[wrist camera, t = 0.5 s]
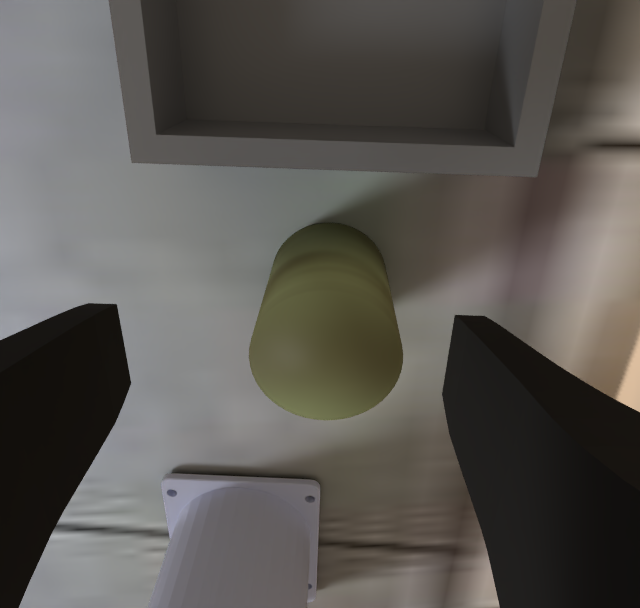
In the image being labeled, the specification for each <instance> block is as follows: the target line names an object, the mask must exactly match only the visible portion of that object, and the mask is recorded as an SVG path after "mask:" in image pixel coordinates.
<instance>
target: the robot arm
mask: <svg viewBox="0 0 640 608" xmlns="http://www.w3.org/2000/svg"><path fill="white" fill-rule="evenodd" d="M130 385H131V380H130V374H129V369H128V363H127V358H126V352H125V347H124V341H123V336H122V331H121V325H120V320H119V314H118V309H117V304H93V303H88V304H85V305H81V306H78V307H75V308H73V309H70V310H68V311H65V312H63V313H60V314H58V315H56V316H54V317H51V318H49V319H47V320H45V321H42V322H40V323H38V324H36V325H33V326H31V327H29V328H27V329H25V330H22V331H20V332H18V333H16V334H14V335H11V336H9V337H7V338H5V339H2V340H0V608H19V605H20V603H21V601H22V598H23V596H24V593H25V591H26V589H27V586H28V584H29V582H30V579H31V577H32V575H33V573H34V571H35V569H36V566H37V564H38V562H39V560H40V558H41V555H42V553H43V551H44V549H45V547H46V544H47V542H48V540H49V538H50V536H51V534H52V532H53V530H54V528H55V526H56V524H57V522H58V520H59V519H60V517H61V515H62V513H63V511H64V509H65V508H66V506H67V504H68V503H69V501H70V499H71V498H72V496H73V494H74V493H75V491H76V489H77V487H78V486H79V484H80V482H81V481H82V479H83V477H84V476H85V474H86V472H87V471H88V469H89V467H90V466H91V464H92V462H93V460H94V459H95V457H96V455H97V454H98V452H99V450H100V449H101V447H102V445H103V443H104V442H105V440H106V438H107V436H108V435H109V433H110V431H111V429H112V428H113V426H114V424H115V422H116V420H117V418H118V415H119V413H120V411H121V408H122V406H123V403H124V401H125V398H126V395H127V393H128V390H129V387H130ZM442 396H443V402H444V407H445V413H446V419H447V424H448V429H449V434H450V437H451V440H452V443H453V446H454V449H455V453H456V456H457V459H458V462H459V465H460V468H461V471H462V474H463V477H464V479H465V482H466V485H467V488H468V491H469V494H470V497H471V500H472V503H473V506H474V509H475V512H476V515H477V518H478V521H479V524H480V527H481V530H482V534H483V537H484V540H485V544H486V547H487V551H488V555H489V560H490V564H491V569H492V573H493V578H494V582H495V587H496V591H497V596H498V600H499V605H500V608H640V412H638V411H636V410H634V409H632V408H630V407H628V406H626V405H624V404H622V403H620V402H618V401H617V400H615V399H613V398H611V397H609V396H607V395H606V394H604V393H602V392H600V391H599V390H597V389H595V388H594V387H592V386H590V385H589V384H587V383H585V382H584V381H582V380H580V379H579V378H577V377H575V376H574V375H572V374H570V373H569V372H567V371H566V370H564V369H563V368H561V367H560V366H558V365H557V364H555V363H554V362H552V361H551V360H549V359H548V358H546V357H545V356H543V355H542V354H540V353H539V352H537V351H536V350H534V349H533V348H531V347H530V346H529V345H527V344H526V343H524V342H523V341H521V340H520V339H519V338H517V337H516V336H514V335H513V334H511V333H510V332H509V331H507V330H506V329H504V328H503V327H501V326H500V325H498V324H497V323H495V322H494V321H492V320H490V319H489V318H487V317H485V316H469V315H455V318H454V324H453V330H452V336H451V343H450V349H449V355H448V361H447V367H446V374H445V380H444V386H443V392H442ZM161 487H162V493H163V499H164V505H165V511H166V517H167V524H168V530H169V536H170V543H169V545H168V548H167V551H166V554H165V557H164V560H163V563H162V566H161V569H160V572H159V575H158V578H157V581H156V584H155V587H154V590H153V593H152V596H151V599H150V602H149V605H148V608H307V602H312V601H314V600H315V599H316V586H317V561H318V536H319V511H320V484H319V483H318V482H317V481H315V480H310V479H288V478H266V477H243V476H221V475H199V474H177V473H170V474H166V475H165V476H164V477H163V479H162V482H161ZM171 489H173V490H171ZM174 490H175V491H174ZM309 496H312V497H309Z"/></svg>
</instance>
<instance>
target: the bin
mask: <svg viewBox="0 0 640 608" xmlns="http://www.w3.org/2000/svg"><path fill="white" fill-rule="evenodd" d="M576 3H577V0H109V5H110V12H111V19H112V26H113V33H114V41H115V48H116V55H117V62H118V69H119V76H120V83H121V90H122V97H123V104H124V111H125V118H126V125H127V132H128V139H129V146H130V153H131V161H132V163H152V164H180V165H208V166H236V167H264V168H292V169H320V170H349V171H377V172H405V173H433V174H461V175H489V176H517V177H537V175H538V171H539V166H540V162H541V158H542V153H543V149H544V144H545V140H546V135H547V131H548V127H549V122H550V118H551V113H552V109H553V105H554V100H555V96H556V91H557V87H558V82H559V78H560V74H561V69H562V65H563V60H564V56H565V52H566V47H567V43H568V38H569V34H570V29H571V25H572V21H573V16H574V12H575V7H576Z"/></svg>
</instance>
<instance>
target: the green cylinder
mask: <svg viewBox="0 0 640 608" xmlns="http://www.w3.org/2000/svg"><path fill="white" fill-rule="evenodd" d="M249 361H250V367H251V370H252V374H253V376H254V378H255V381H256V382H257V384H258V386H259V387H260V389H261V390H262V391H263V392H264V394H265V395H266V396H267V397H268V398H269V399H270V400H272V401H273V402H274V403H275V404H277V405H278V406H280V407H281V408H283V409H285V410H287V411H289V412H291V413H293V414H295V415H299V416H302V417H305V418H310V419H317V420H338V419H344V418H349V417H353V416H356V415H359V414H361V413H363V412H365V411H368V410H369V409H371V408H373V407H374V406H376V405H377V404H378V403H380V402H381V401H382V400H383V399H384V398H385V397H386V396H387V395H388V394H389V393H390V392H391V390H392V389H393V388H394V386H395V384H396V382H397V380H398V378H399V375H400V373H401V369H402V364H403V350H402V344H401V339H400V334H399V330H398V325H397V320H396V315H395V311H394V306H393V301H392V297H391V292H390V287H389V282H388V278H387V273H386V268H385V264H384V260H383V258H382V255H381V253H380V251H379V250H378V248H377V246H376V245H375V244H374V243H373V242H372V240H370V239H369V238H368V237H367V236H366V235H365V234H363V233H362V232H360V231H358V230H357V229H355V228H352V227H350V226H347V225H343V224H338V223H320V224H314V225H311V226H308V227H305V228H303V229H301V230H299V231H297V232H296V233H294V234H293V235H292V236H290V237H289V238H288V239H287V240H286V241H285V242H284V243H283V245H282V246H281V248H280V249H279V251H278V253H277V255H276V257H275V260H274V263H273V267H272V270H271V273H270V277H269V280H268V284H267V287H266V290H265V294H264V297H263V301H262V304H261V308H260V311H259V314H258V318H257V321H256V325H255V328H254V332H253V335H252V338H251V343H250V348H249Z"/></svg>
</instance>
